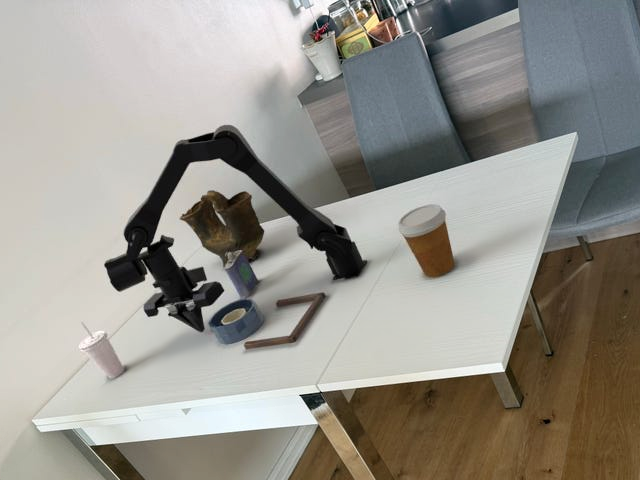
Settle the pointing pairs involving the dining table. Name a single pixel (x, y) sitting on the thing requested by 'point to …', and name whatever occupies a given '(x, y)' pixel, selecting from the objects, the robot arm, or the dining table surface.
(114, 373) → the smoothie
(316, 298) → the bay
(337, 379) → the dining table surface
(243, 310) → the small bowl
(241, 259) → the flask
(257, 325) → the blue-grey round ring piece
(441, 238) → the disposable coffee cup
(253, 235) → the pottery vessel
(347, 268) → the robot arm
